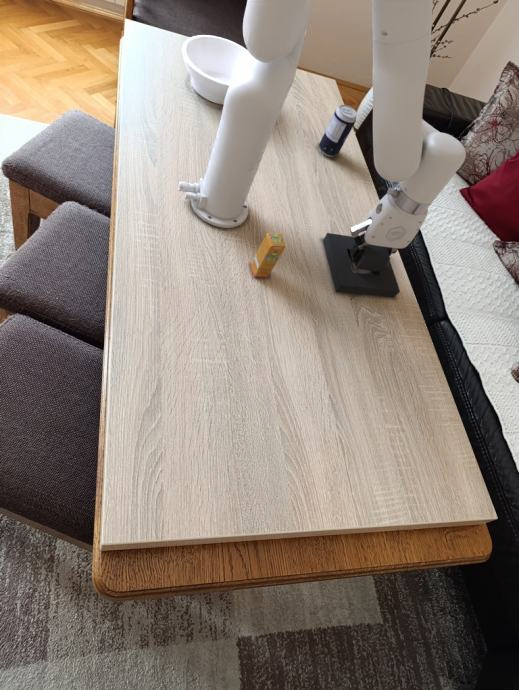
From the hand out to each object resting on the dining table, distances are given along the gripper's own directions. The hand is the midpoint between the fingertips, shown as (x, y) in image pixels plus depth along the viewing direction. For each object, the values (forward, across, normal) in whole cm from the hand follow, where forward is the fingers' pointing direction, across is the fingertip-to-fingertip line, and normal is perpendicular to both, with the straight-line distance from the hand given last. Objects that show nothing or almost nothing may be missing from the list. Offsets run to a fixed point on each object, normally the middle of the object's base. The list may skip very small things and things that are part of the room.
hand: (366, 258), depth 110 cm
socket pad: (+4, 0, 0) cm, 4 cm away
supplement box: (+4, -24, -4) cm, 25 cm away
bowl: (+4, -28, +56) cm, 63 cm away
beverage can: (+4, +1, +40) cm, 40 cm away
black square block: (+1, 0, 0) cm, 1 cm away
